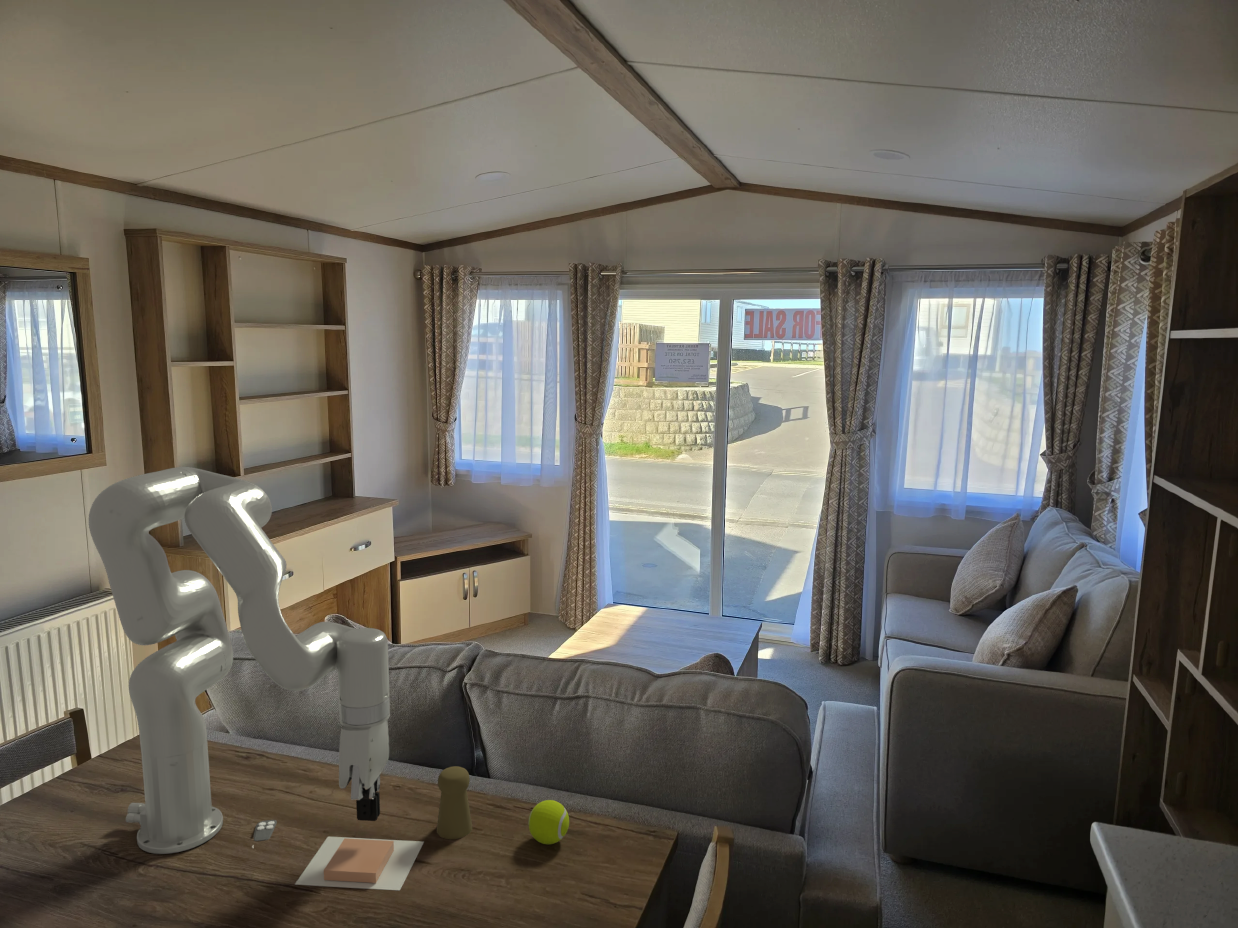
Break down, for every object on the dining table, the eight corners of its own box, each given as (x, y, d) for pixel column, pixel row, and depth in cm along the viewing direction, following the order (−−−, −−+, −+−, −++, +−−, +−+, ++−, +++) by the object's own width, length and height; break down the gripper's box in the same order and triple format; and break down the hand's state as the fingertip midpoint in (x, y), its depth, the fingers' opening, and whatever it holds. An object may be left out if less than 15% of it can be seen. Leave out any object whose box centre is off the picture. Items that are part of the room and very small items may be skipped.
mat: (295, 887, 124) (294, 883, 124) (328, 839, 136) (327, 836, 136) (399, 893, 123) (399, 889, 123) (424, 844, 135) (423, 841, 135)
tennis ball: (539, 825, 141) (539, 788, 140) (575, 833, 139) (575, 796, 138) (521, 847, 135) (521, 809, 134) (558, 856, 132) (558, 818, 131)
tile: (344, 848, 133) (324, 880, 125) (344, 838, 133) (323, 869, 125) (393, 850, 132) (376, 883, 124) (393, 840, 132) (375, 872, 124)
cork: (464, 844, 135) (463, 782, 133) (430, 839, 136) (428, 777, 135) (478, 823, 141) (477, 763, 139) (445, 819, 142) (443, 759, 140)
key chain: (255, 827, 140) (255, 819, 140) (279, 825, 141) (278, 817, 140) (238, 876, 127) (237, 867, 127) (264, 873, 128) (263, 864, 128)
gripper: (358, 687, 137) (362, 791, 139) (321, 730, 122) (326, 844, 125) (403, 689, 136) (406, 793, 139) (371, 732, 121) (375, 847, 124)
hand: (368, 817), depth 132 cm, fingers closed
